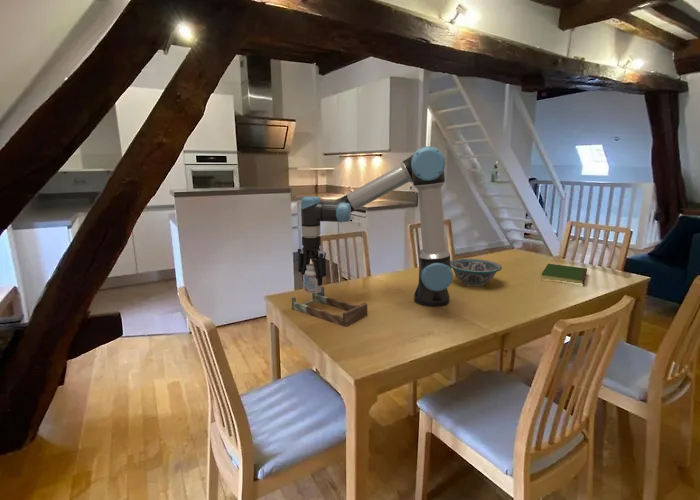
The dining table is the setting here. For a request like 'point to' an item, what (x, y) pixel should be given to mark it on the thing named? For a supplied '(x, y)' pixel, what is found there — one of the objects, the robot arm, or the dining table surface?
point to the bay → (348, 317)
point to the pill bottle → (310, 278)
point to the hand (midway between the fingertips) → (312, 290)
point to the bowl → (475, 270)
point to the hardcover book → (564, 273)
